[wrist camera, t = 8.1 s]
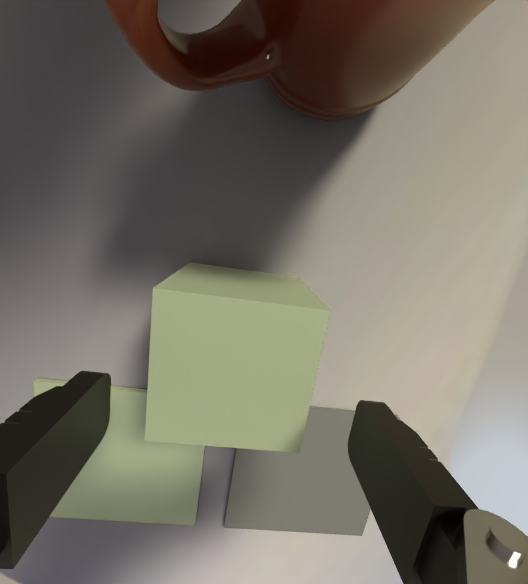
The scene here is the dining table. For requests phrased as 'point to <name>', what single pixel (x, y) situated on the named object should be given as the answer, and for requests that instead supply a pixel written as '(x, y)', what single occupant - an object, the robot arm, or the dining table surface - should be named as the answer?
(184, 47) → the mug
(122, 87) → the dining table surface
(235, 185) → the dining table surface
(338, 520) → the grey pad
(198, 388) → the pale green cube
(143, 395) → the sage pad
